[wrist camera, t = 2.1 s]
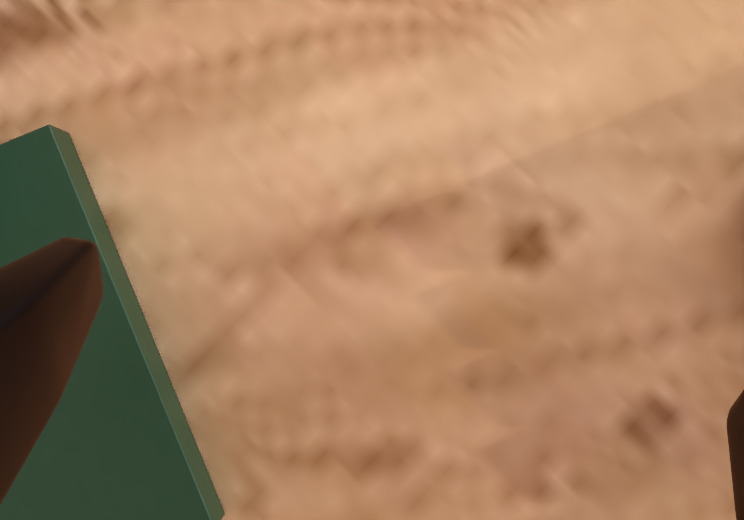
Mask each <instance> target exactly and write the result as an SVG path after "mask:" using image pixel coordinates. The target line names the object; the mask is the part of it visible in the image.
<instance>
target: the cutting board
mask: <svg viewBox="0 0 744 520" xmlns="http://www.w3.org/2000/svg"><path fill="white" fill-rule="evenodd" d="M63 237H72V238H77V239H82V240H88V241H92V242H93V243H95V244H96V245H97V247H98V251H99V257H100V265H101V273H102V281H103V297H102V301H101V304H100V307H99V309H98V312H97V314H96V316H95V319H94V321H93V324H92V326H91V328H90V331H89V333H88V335H87V338H86V340H85V343H84V345H83V347H82V350H81V352H80V354H79V357H78V359H77V362H76V364H75V366H74V369H73V371H72V373H71V376H70V378H69V381H68V383H67V385H66V387H65V390H64V392H63V394H62V396H61V398H60V400H59V402H58V404H57V406H56V408H55V410H54V411H53V413H52V415H51V417H50V419H49V420H48V422H47V424H46V426H45V427H44V429H43V431H42V433H41V434H40V436H39V438H38V440H37V441H36V443H35V445H34V447H33V448H32V450H31V452H30V454H29V456H28V457H27V459H26V461H25V463H24V464H23V466H22V468H21V470H20V471H19V473H18V475H17V477H16V478H15V480H14V482H13V484H12V485H11V487H10V489H9V491H8V492H7V494H6V496H5V498H4V499H3V501H2V503H1V505H0V520H221V519H222V518H223V516H224V514H225V512H224V510H223V508H222V505H221V503H220V500H219V498H218V495H217V493H216V490H215V488H214V486H213V483H212V481H211V478H210V476H209V473H208V471H207V469H206V466H205V464H204V461H203V459H202V456H201V454H200V451H199V449H198V447H197V444H196V442H195V439H194V437H193V434H192V432H191V429H190V427H189V425H188V422H187V420H186V417H185V415H184V412H183V410H182V408H181V405H180V403H179V400H178V398H177V395H176V393H175V390H174V388H173V386H172V383H171V381H170V378H169V376H168V373H167V371H166V369H165V366H164V364H163V361H162V359H161V356H160V354H159V351H158V349H157V347H156V344H155V342H154V339H153V337H152V334H151V332H150V329H149V327H148V325H147V322H146V320H145V317H144V315H143V312H142V310H141V308H140V305H139V303H138V300H137V298H136V295H135V293H134V290H133V288H132V286H131V283H130V281H129V278H128V276H127V273H126V271H125V269H124V266H123V264H122V261H121V259H120V256H119V254H118V251H117V249H116V247H115V244H114V242H113V239H112V237H111V234H110V232H109V230H108V227H107V225H106V222H105V220H104V217H103V215H102V212H101V210H100V208H99V205H98V203H97V200H96V198H95V195H94V193H93V190H92V188H91V186H90V183H89V181H88V178H87V176H86V173H85V171H84V169H83V166H82V164H81V161H80V159H79V156H78V154H77V151H76V149H75V147H74V144H73V142H72V139H71V137H70V134H69V133H67V132H65V131H63V130H60V129H58V128H56V127H53V126H51V125H47V126H44V127H42V128H40V129H37V130H35V131H32V132H30V133H28V134H25V135H23V136H20V137H18V138H15V139H13V140H11V141H8V142H6V143H3V144H1V145H0V268H1V267H3V266H5V265H7V264H9V263H11V262H13V261H16V260H18V259H20V258H22V257H24V256H26V255H28V254H30V253H32V252H34V251H36V250H38V249H40V248H42V247H44V246H46V245H48V244H50V243H52V242H54V241H56V240H58V239H61V238H63Z"/></svg>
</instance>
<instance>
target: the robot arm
mask: <svg viewBox="0 0 744 520" xmlns="http://www.w3.org/2000/svg"><path fill="white" fill-rule="evenodd" d="M102 297H103V281H102V273H101V265H100V257H99V251H98V247H97V245H96V244H95V243H93V242H92V241H88V240H82V239H77V238H72V237H63V238H61V239H58V240H56V241H54V242H52V243H50V244H48V245H46V246H44V247H42V248H40V249H38V250H36V251H34V252H32V253H30V254H28V255H26V256H24V257H22V258H20V259H18V260H16V261H13V262H11V263H9V264H7V265H5V266H3V267H1V268H0V505H1V503H2V501H3V499H4V498H5V496H6V494H7V492H8V491H9V489H10V487H11V485H12V484H13V482H14V480H15V478H16V477H17V475H18V473H19V471H20V470H21V468H22V466H23V464H24V463H25V461H26V459H27V457H28V456H29V454H30V452H31V450H32V448H33V447H34V445H35V443H36V441H37V440H38V438H39V436H40V434H41V433H42V431H43V429H44V427H45V426H46V424H47V422H48V420H49V419H50V417H51V415H52V413H53V411H54V410H55V408H56V406H57V404H58V402H59V400H60V398H61V396H62V394H63V392H64V390H65V387H66V385H67V383H68V381H69V378H70V376H71V373H72V371H73V369H74V366H75V364H76V362H77V359H78V357H79V354H80V352H81V350H82V347H83V345H84V343H85V340H86V338H87V335H88V333H89V331H90V328H91V326H92V324H93V321H94V319H95V316H96V314H97V312H98V309H99V307H100V304H101V301H102ZM727 433H728V443H729V452H730V462H731V472H732V482H733V491H734V501H735V511H736V519H737V520H744V390H743V392H742V393H741V394H740V396H739V397H738V399H737V400H736V401H735V403H734V404H733V406H732V407H731V409H730V411H729V414H728V418H727Z"/></svg>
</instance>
